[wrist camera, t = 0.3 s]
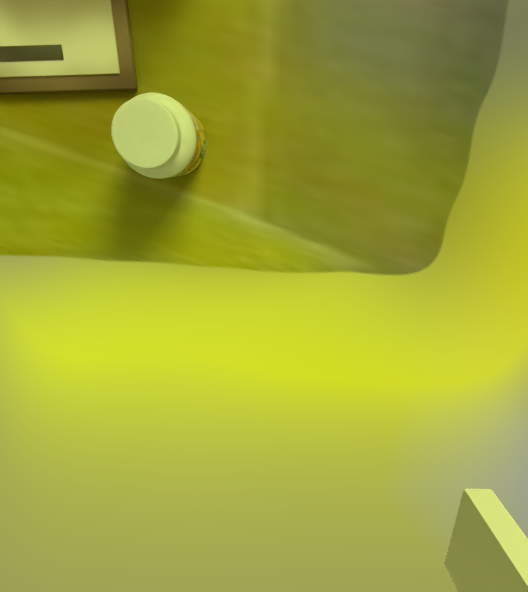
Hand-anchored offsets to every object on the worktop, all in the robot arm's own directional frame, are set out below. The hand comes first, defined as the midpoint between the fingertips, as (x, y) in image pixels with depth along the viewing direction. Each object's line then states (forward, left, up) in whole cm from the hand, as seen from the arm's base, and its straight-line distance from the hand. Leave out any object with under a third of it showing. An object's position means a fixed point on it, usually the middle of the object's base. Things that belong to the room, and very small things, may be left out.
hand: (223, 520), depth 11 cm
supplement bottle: (-11, -5, -27) cm, 30 cm away
